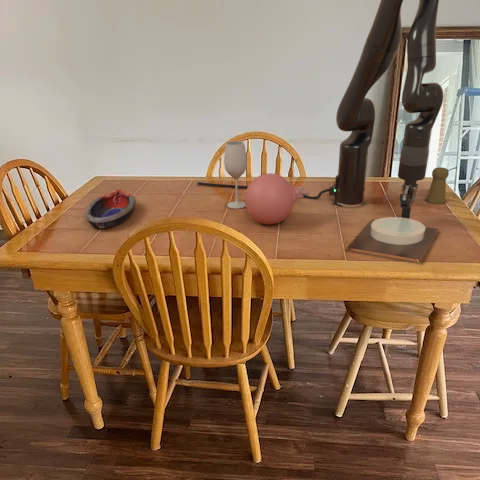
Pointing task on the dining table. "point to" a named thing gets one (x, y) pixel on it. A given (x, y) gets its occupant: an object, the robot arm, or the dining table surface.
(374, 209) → the dining table surface
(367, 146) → the robot arm
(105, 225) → the dish
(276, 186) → the balloon
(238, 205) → the wineglass
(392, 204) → the dining table surface
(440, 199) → the olive pepper mill
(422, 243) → the board
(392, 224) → the plate
